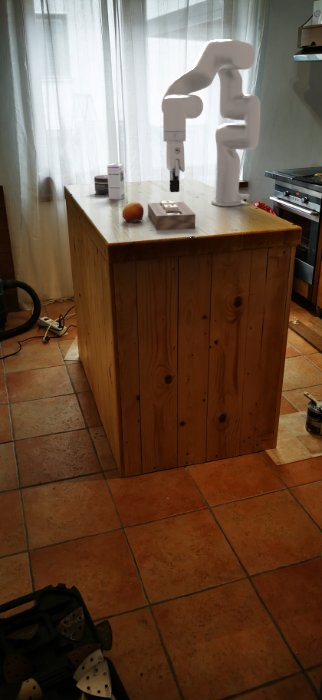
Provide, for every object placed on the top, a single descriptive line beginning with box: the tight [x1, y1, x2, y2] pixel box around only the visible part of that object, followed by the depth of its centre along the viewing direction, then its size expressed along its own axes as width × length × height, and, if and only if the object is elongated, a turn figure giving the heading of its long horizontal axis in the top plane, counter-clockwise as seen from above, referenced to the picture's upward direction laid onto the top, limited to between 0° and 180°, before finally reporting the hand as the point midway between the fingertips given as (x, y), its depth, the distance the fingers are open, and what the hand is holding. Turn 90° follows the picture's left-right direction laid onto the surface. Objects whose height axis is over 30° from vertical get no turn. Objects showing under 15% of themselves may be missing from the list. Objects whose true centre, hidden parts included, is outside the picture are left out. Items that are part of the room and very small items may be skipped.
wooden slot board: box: [147, 201, 196, 231], centre depth 208 cm, size 14×22×5 cm, turn 9°
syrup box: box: [106, 162, 125, 200], centre depth 246 cm, size 6×6×14 cm
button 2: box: [164, 204, 178, 210], centre depth 206 cm, size 4×4×2 cm
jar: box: [93, 174, 109, 196], centre depth 257 cm, size 10×10×8 cm
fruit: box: [122, 202, 145, 223], centre depth 209 cm, size 8×8×8 cm
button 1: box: [160, 200, 175, 206], centre depth 213 cm, size 4×4×2 cm
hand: (174, 191), depth 197 cm, fingers closed
